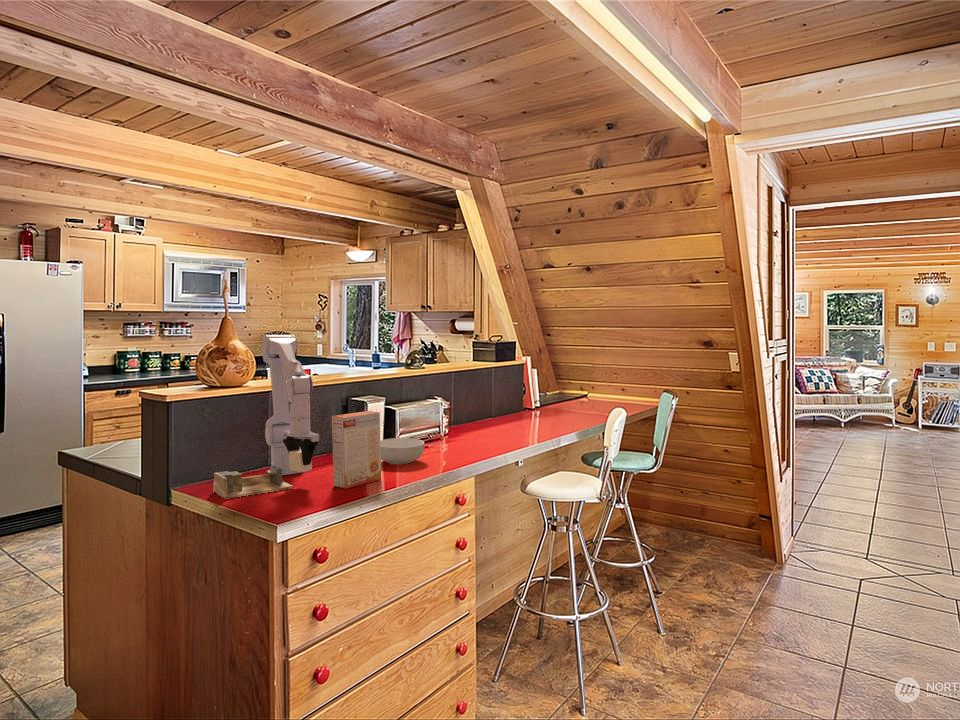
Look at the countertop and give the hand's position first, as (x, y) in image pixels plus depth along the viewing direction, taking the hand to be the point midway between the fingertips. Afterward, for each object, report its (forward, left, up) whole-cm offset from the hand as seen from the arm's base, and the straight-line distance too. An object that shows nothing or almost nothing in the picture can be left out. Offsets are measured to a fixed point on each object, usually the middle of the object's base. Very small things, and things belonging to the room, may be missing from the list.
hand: (300, 463), depth 186 cm
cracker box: (-14, +7, -7) cm, 18 cm away
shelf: (+13, -4, -7) cm, 15 cm away
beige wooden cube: (0, 0, -2) cm, 2 cm away
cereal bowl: (-39, -10, -7) cm, 41 cm away
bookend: (+5, -5, -6) cm, 9 cm away
